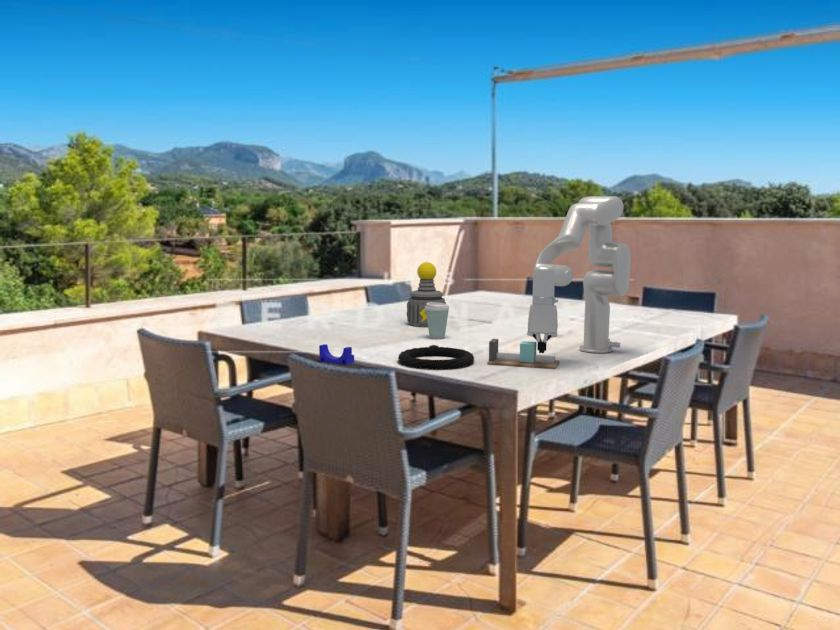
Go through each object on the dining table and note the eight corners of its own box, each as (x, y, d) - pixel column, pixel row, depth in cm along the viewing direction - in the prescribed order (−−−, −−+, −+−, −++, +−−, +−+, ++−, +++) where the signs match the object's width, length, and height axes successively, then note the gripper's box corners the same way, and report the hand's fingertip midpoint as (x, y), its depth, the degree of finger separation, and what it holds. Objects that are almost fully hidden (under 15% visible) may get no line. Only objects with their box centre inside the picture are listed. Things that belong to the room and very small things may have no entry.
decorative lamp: (404, 327, 346) (404, 263, 342) (409, 321, 364) (409, 260, 360) (444, 328, 344) (445, 263, 339) (447, 322, 362) (448, 261, 358)
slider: (536, 359, 266) (536, 341, 265) (533, 362, 260) (534, 344, 259) (522, 358, 267) (522, 341, 266) (519, 361, 261) (520, 343, 260)
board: (559, 362, 266) (559, 360, 266) (555, 369, 255) (555, 366, 255) (493, 358, 273) (493, 356, 273) (487, 364, 262) (487, 362, 262)
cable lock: (397, 360, 252) (397, 344, 281) (397, 371, 252) (397, 354, 282) (478, 360, 252) (469, 344, 282) (478, 371, 253) (469, 354, 283)
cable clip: (354, 362, 265) (354, 346, 264) (347, 365, 261) (347, 348, 260) (326, 359, 270) (326, 343, 269) (319, 361, 266) (319, 345, 265)
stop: (498, 357, 270) (498, 338, 269) (494, 361, 263) (494, 342, 263) (492, 357, 271) (493, 338, 270) (488, 361, 264) (489, 341, 263)
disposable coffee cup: (451, 336, 320) (452, 302, 318) (446, 340, 310) (446, 305, 308) (428, 335, 323) (428, 301, 321) (421, 339, 313) (421, 304, 311)
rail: (555, 362, 262) (555, 356, 262) (554, 363, 260) (554, 357, 259) (496, 358, 268) (496, 352, 268) (495, 360, 266) (495, 353, 265)
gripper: (565, 301, 261) (564, 352, 263) (523, 299, 265) (522, 349, 267) (563, 303, 253) (562, 355, 256) (520, 301, 258) (519, 353, 260)
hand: (541, 352), depth 262 cm, fingers closed
